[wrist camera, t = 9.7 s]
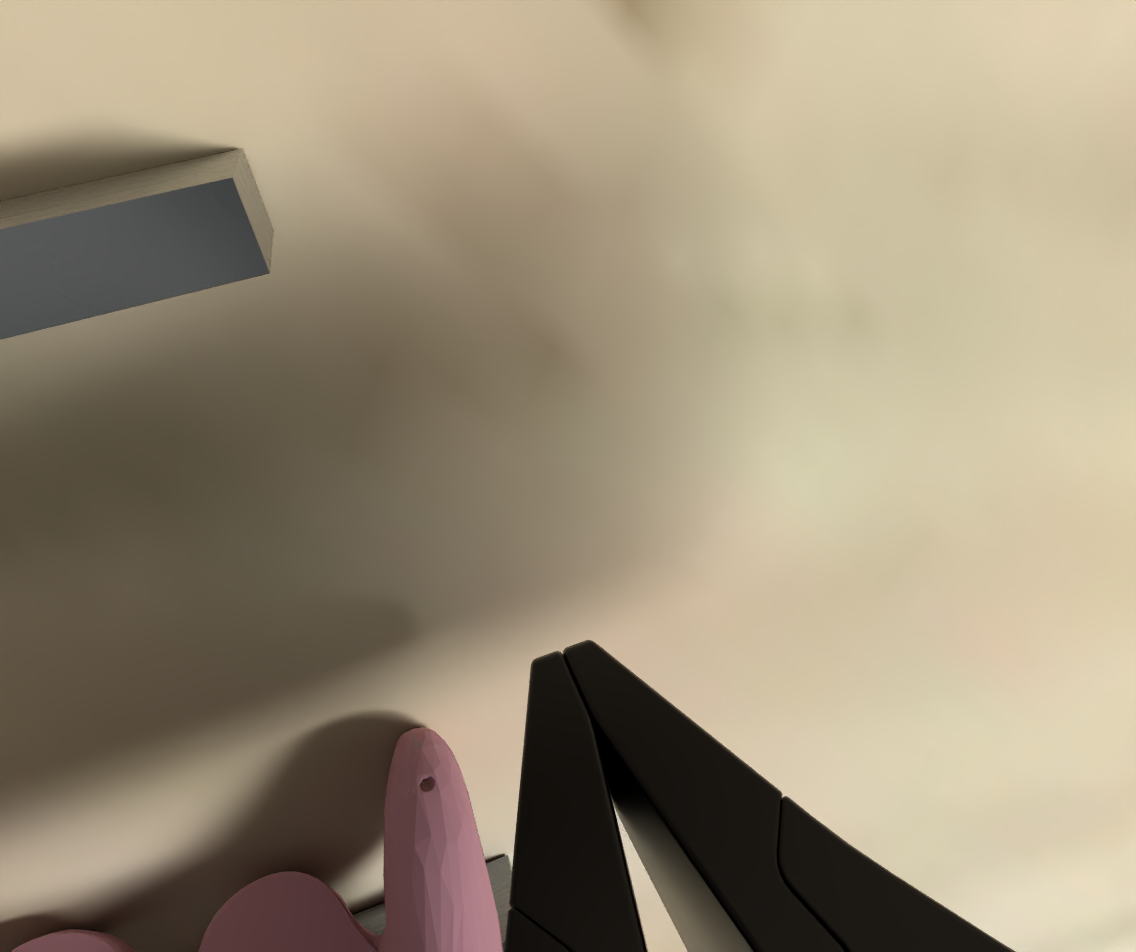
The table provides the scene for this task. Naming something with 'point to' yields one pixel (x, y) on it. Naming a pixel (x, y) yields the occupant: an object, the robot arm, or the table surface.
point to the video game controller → (411, 881)
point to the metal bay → (146, 275)
